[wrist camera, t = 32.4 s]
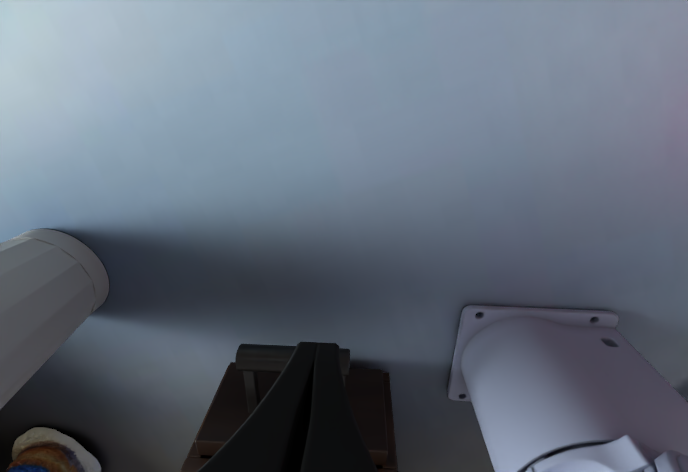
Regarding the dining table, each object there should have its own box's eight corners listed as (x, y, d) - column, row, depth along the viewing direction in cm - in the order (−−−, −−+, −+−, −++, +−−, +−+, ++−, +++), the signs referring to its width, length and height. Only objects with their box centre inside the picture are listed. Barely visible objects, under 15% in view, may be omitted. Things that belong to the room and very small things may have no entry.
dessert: (27, 418, 28) (12, 509, 24) (119, 410, 33) (117, 485, 29) (-6, 454, 31) (-22, 539, 28) (83, 442, 36) (78, 513, 32)
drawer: (221, 304, 23) (179, 375, 17) (386, 311, 22) (394, 386, 17) (248, 475, 30) (223, 563, 24) (373, 483, 29) (375, 573, 24)
